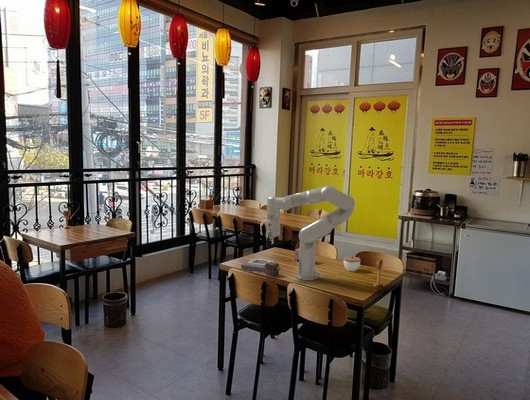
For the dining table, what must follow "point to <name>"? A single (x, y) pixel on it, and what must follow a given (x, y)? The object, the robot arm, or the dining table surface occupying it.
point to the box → (272, 269)
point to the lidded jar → (351, 263)
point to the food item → (297, 254)
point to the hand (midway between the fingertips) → (272, 245)
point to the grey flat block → (255, 265)
